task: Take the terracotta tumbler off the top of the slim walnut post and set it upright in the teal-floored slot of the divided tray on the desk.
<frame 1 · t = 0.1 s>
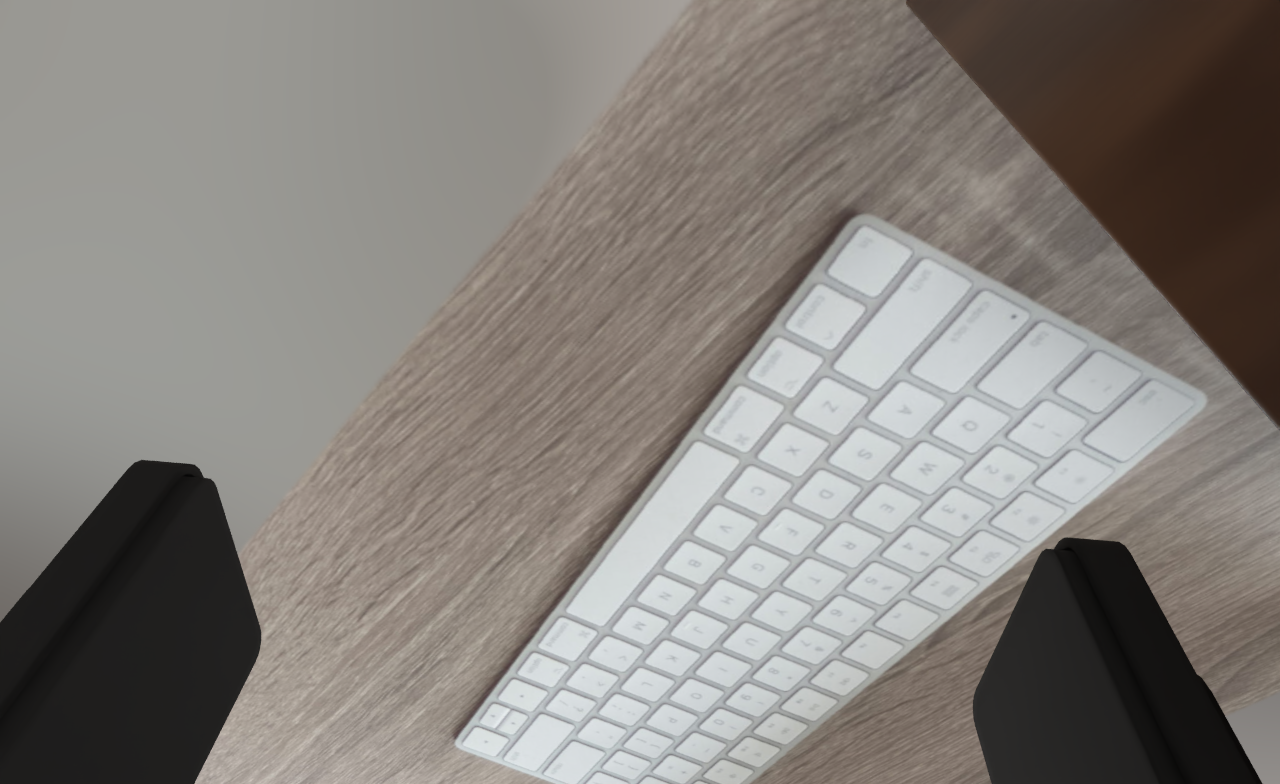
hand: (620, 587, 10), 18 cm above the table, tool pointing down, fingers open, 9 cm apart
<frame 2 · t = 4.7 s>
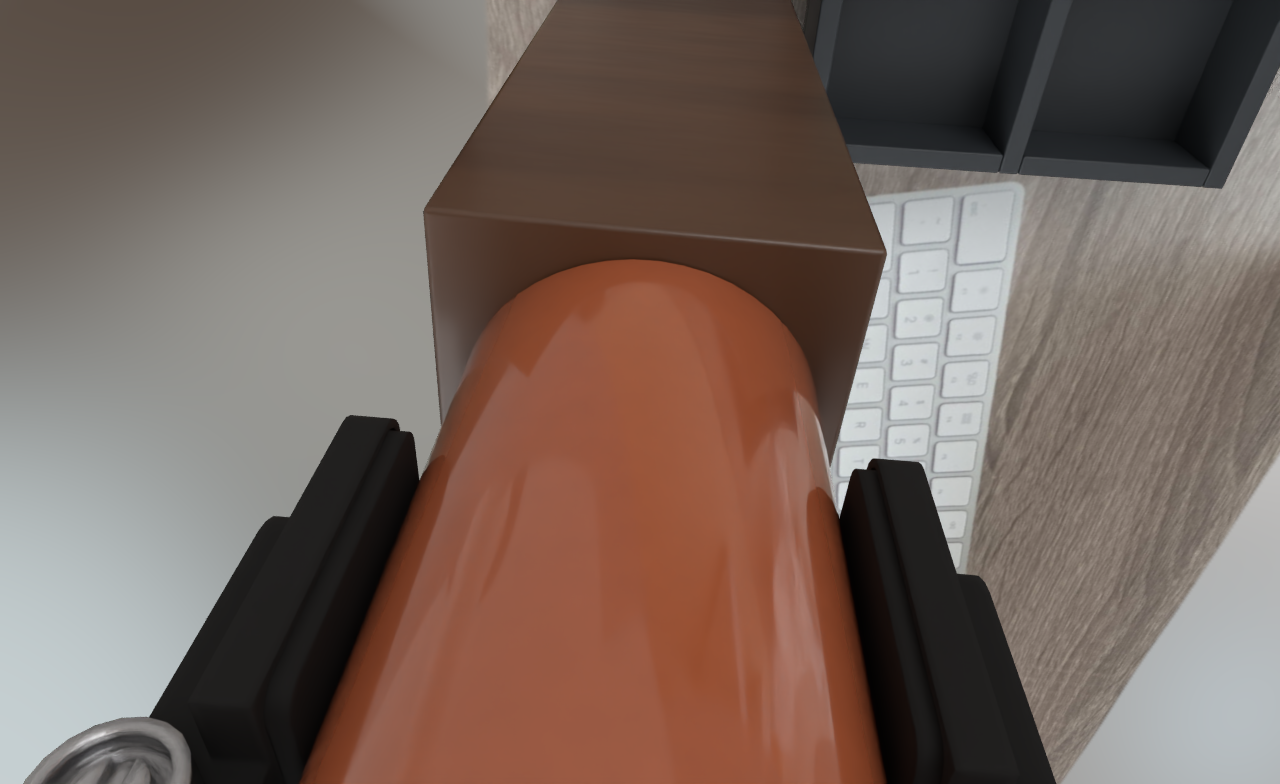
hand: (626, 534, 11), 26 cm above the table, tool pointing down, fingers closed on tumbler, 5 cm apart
stand: (677, 26, 32), on the table
tumbler: (638, 415, 13), point 24 cm above the table, touching gripper, stand
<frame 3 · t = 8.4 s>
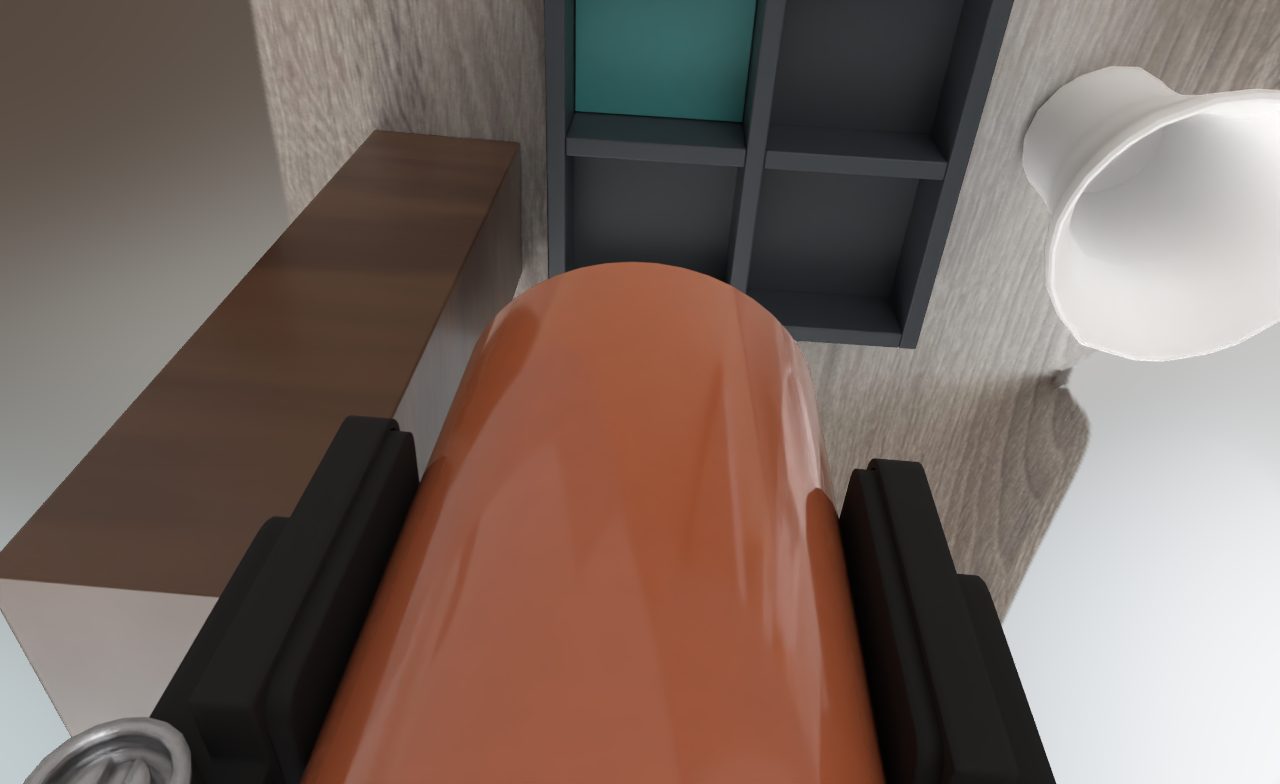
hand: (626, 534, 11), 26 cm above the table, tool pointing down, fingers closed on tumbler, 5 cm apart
stand: (451, 204, 37), on the table
tumbler: (638, 418, 13), point 24 cm above the table, touching gripper
divided tray: (750, 126, 34), on the table
cup: (1086, 126, 34), on the table
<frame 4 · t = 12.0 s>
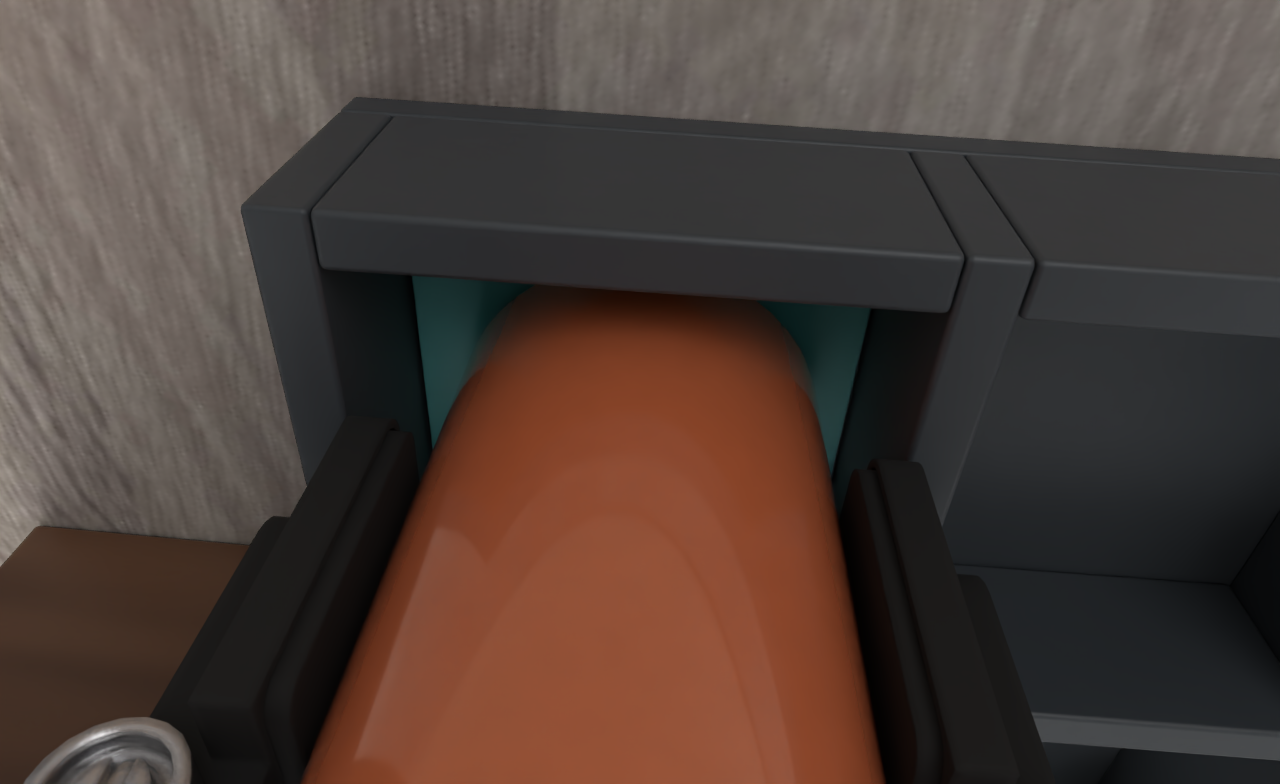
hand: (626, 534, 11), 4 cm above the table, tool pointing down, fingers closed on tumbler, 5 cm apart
stand: (221, 636, 19), on the table
tumbler: (638, 417, 13), point 1 cm above the table, touching gripper
divided tray: (825, 542, 16), on the table
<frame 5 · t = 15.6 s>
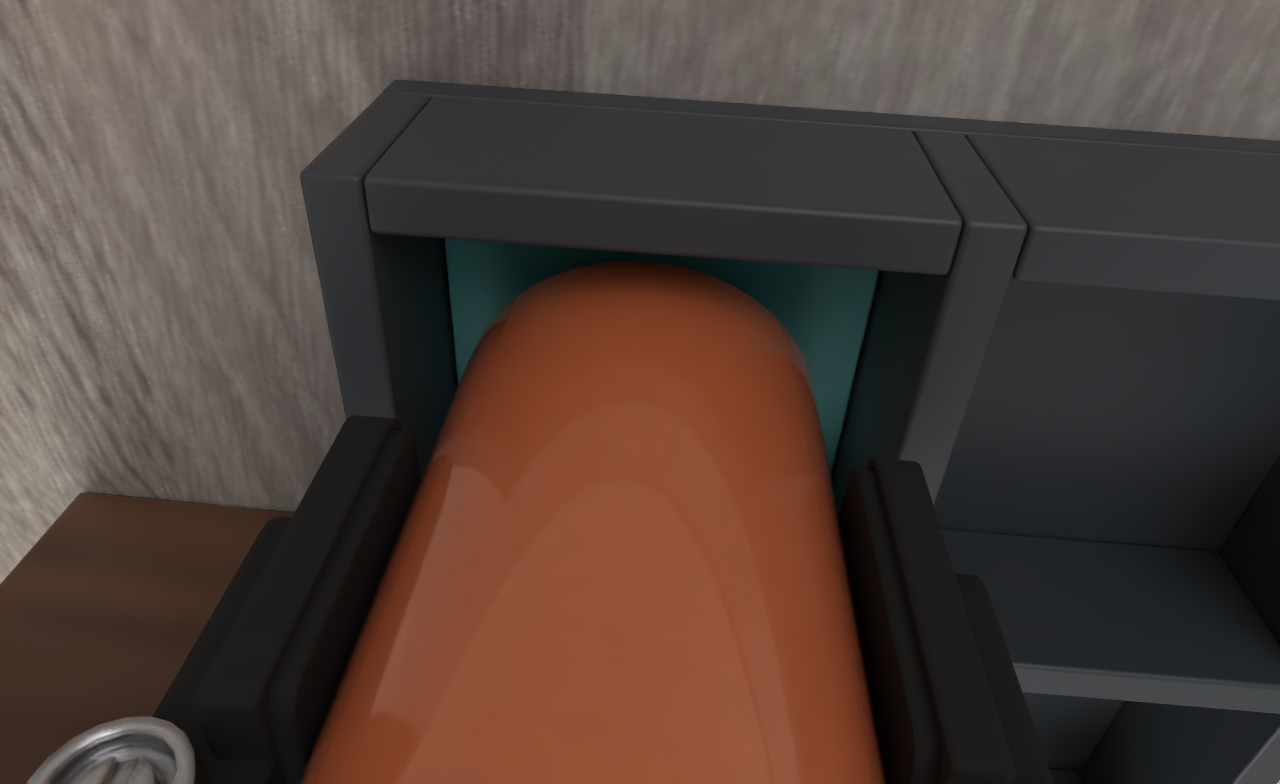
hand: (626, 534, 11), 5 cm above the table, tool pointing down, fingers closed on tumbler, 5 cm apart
stand: (253, 601, 19), on the table
tumbler: (638, 416, 13), point 2 cm above the table, touching gripper
divided tray: (832, 509, 17), on the table
when the fingers open (4 cm above the table, at t = 18.6 s): tumbler drops 1 cm, resting on divided tray.
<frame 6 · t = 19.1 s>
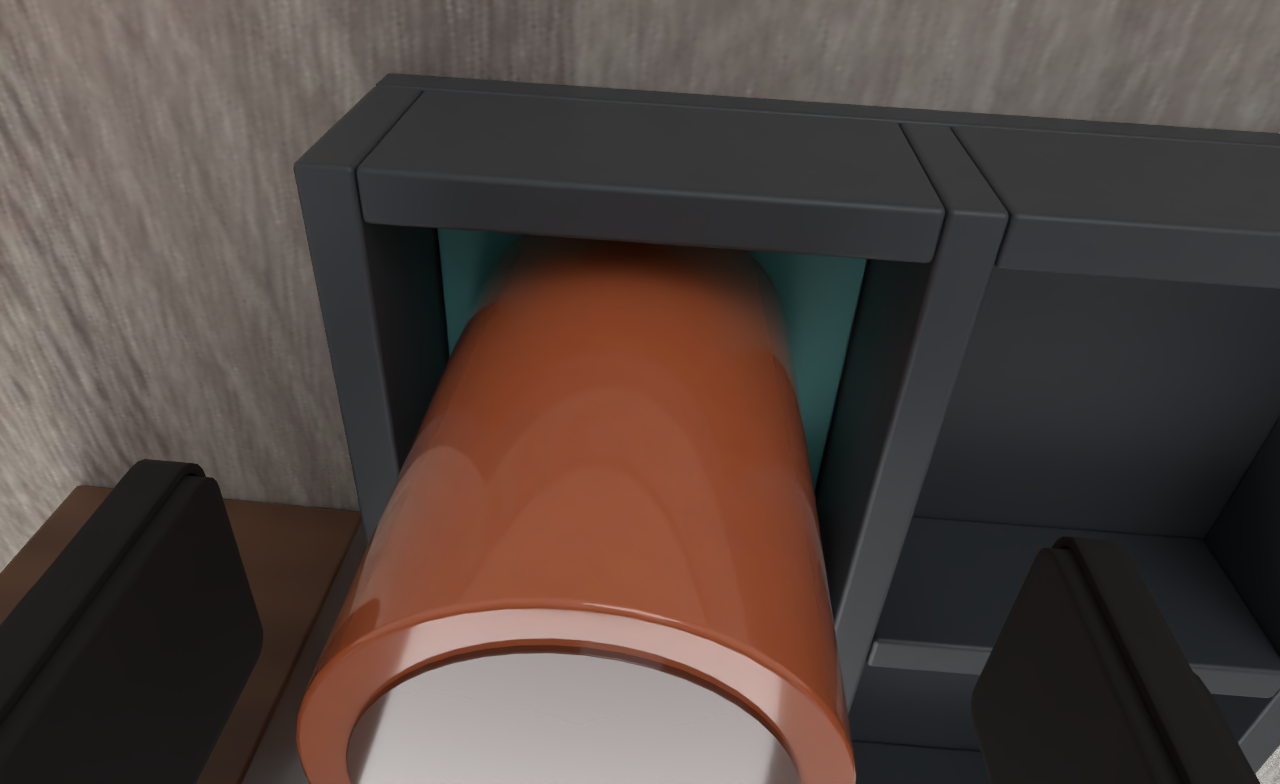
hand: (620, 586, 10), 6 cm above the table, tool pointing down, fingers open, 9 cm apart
stand: (249, 594, 20), on the table
tumbler: (629, 350, 14), point 1 cm above the table, touching divided tray
divided tray: (823, 500, 17), on the table
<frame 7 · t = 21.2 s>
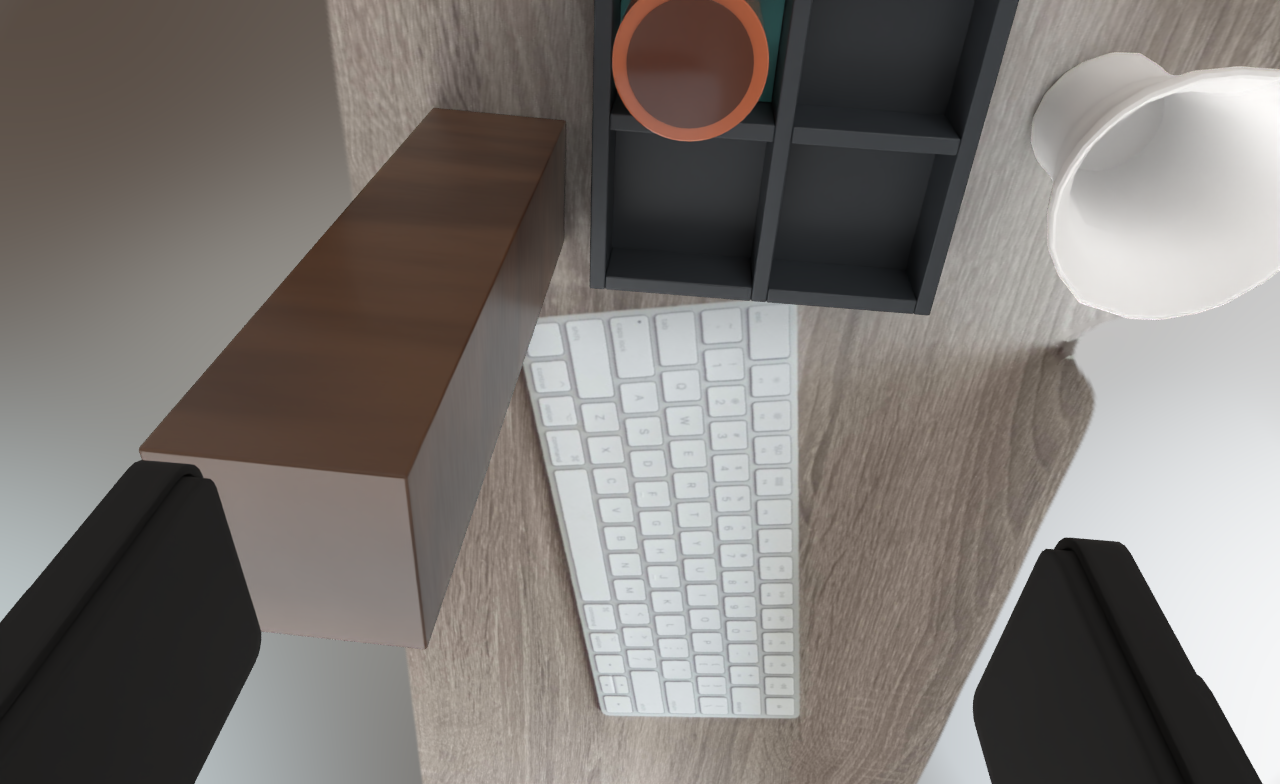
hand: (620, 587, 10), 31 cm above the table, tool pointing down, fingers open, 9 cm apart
stand: (501, 177, 40), on the table
tumbler: (695, 14, 35), point 1 cm above the table, touching divided tray
divided tray: (778, 106, 37), on the table
cup: (1091, 108, 36), on the table
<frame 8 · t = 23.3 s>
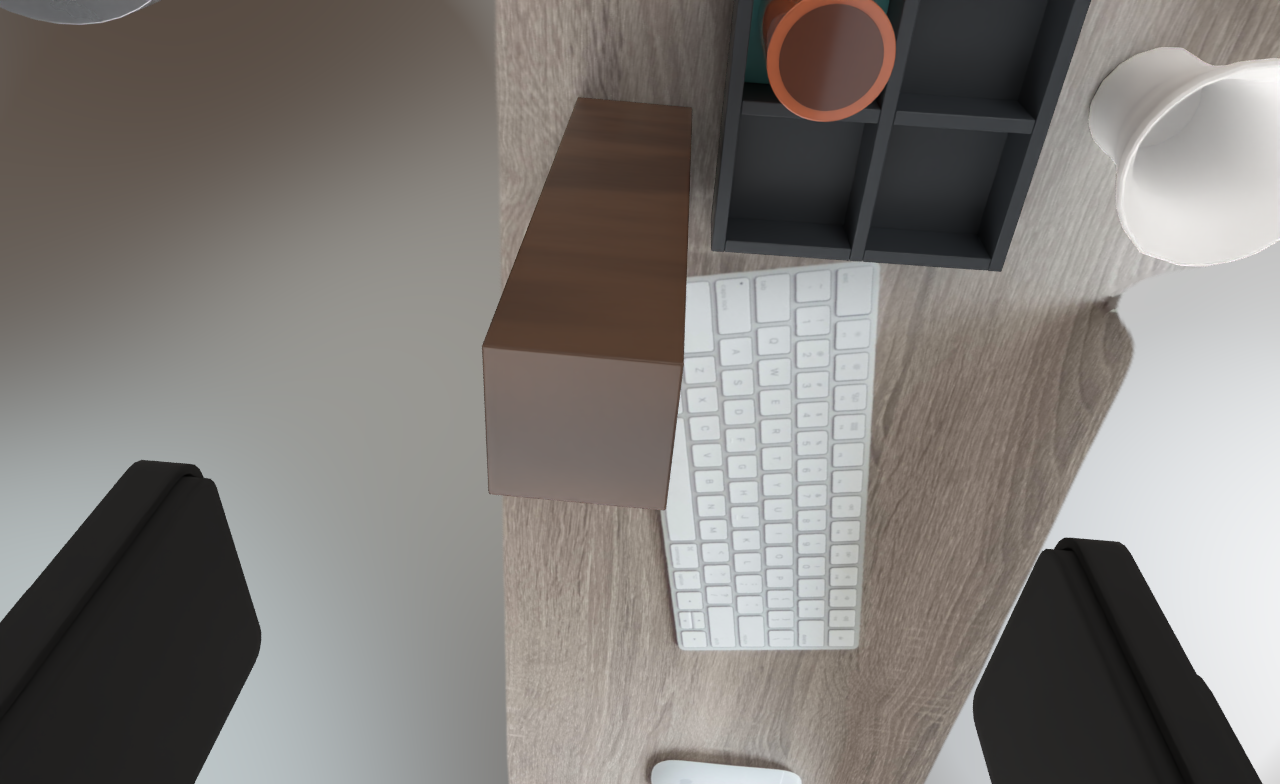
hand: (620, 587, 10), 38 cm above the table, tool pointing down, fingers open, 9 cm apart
stand: (631, 157, 47), on the table
tumbler: (812, 16, 41), point 1 cm above the table, touching divided tray
divided tray: (875, 94, 44), on the table
cup: (1139, 95, 43), on the table
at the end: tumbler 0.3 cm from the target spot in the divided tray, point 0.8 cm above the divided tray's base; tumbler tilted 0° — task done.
